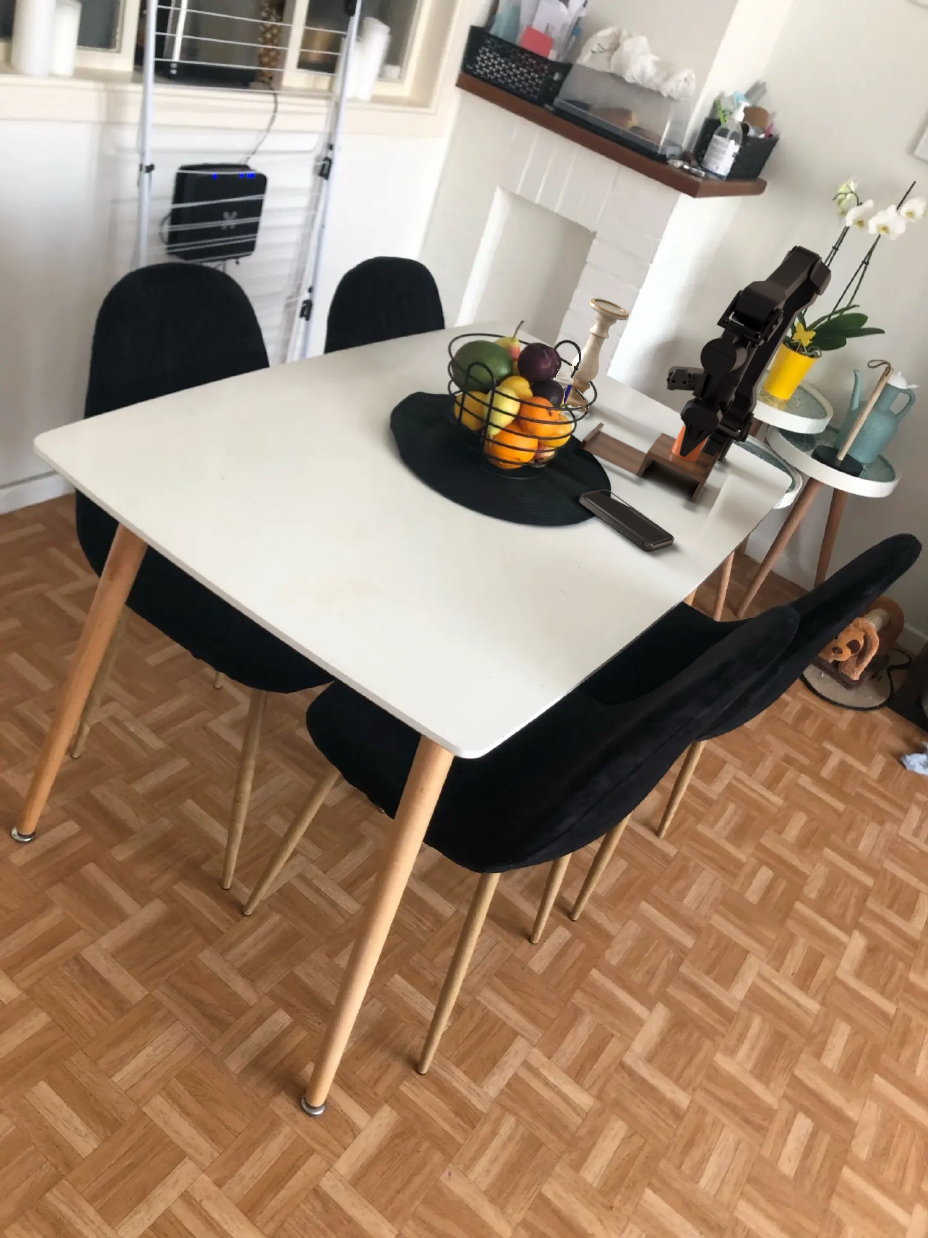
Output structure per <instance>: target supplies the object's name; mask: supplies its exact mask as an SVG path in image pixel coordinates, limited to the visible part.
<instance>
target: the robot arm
mask: <svg viewBox="0 0 928 1238" xmlns="http://www.w3.org/2000/svg"><path fill="white" fill-rule="evenodd" d="M831 281H832V270H831V269H830V268H829V267H828V266H827V264H826V263H824V261H823V257H822V256H821V255H820V254H819V253H817V252H815V251H813V250H810V249H809V248H806V247H804V246H802V245H794V246H793V247H792V248H791V249H790V250H788V251H787V253H786V254H785V255H784V257H783V259H782V261H781V262H780V264H779V265H778V266H777V268H775V269H774V270H773V272H771V273H770V274H769V276H767V278H766V279H764V280H754V281H751V282H750V283H749V284H747V285H746V286H745V287H743V289H740V290H738V291H737V293H736V294H735V295H734V297H733V298H732V300H731V301H730V303H729V304H728V306H727V307H726V309H725V311H724V312H723V313H722V315H721V316H720V318H719V320H718V321H717V322H716V325H717V326H718V327H720V328H722V329H723V332H722V334H721V335H720V336H719V337H716V338H713V339H711V340H709V341H707V343H706V344H705V345H703V347H702V348H701V350H700V356H699V357H700V359H699V360H700V364H701V367H702V368H700V367H693V366H683V365H673V366H671V367H670V368H669V369H668V372H667V378H666V379H665V381H666V390H668V391H673V392H674V391H676V390H677V391H687V392H692V393H691V396H692V397H694V398H691V399H689V400H687V402H686V403H685V404H684V406H683V408H682V410H681V412H680V414H679V416H680V420H681V421H682V422H683V423H684V424H685V432H684V437H683V441H682V445H681V449H680V453H679V454H680V455H681V456H683V457H686V456H687V455H688V454H689V453H690V452H691V451H692V450H694V449H695V448H696V447H697V446H698V445H699V444H700V443H702V442H703V441H704V440H705V439H706V438H707V437H708V439H707V441H706V443H705V445H704V447H703V449H702V452H704V453H706V454H708V455H710V456H712V457H714V456H715V454H716V452H719V453H721V455H720V457H719V458H718V460H717V462H720V463H722V464H725V463H726V461H727V458H726V456H727V455H728V453H729V451H730V449H731V447H732V445H733V444H734V441H735V443H740V442H741V443H746V441H747V439H748V437H749V436H750V433H751V431H752V427H753V425H754V417H755V412H754V411H755V409H756V407H757V405H758V391H757V389H758V387H759V384H760V383H761V381H762V379H763V377H764V375H765V373H766V371H767V370H768V368H769V366H770V364H771V363H772V361H773V359H774V357H775V356H776V354H777V352H778V350H779V348H780V346H781V345H782V344H783V342H784V340H785V337H786V336H787V335H788V333H789V331H790V329H791V328H792V325H793V324H794V322H795V320H796V318H797V317H798V315H799V314H801V312H803V311H805V310H806V309H808V308H809V307H811V306H812V305H814V303H815V302H816V300H817V299H818V297H819V296H820V297H821V296H822V295H823V294H824V293H825V291H826V290H827V288H828V286H829V284H830V283H831ZM730 317H731V318H730Z"/></svg>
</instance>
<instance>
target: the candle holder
mask: <svg viewBox="0 0 928 1238" xmlns="http://www.w3.org/2000/svg"><path fill="white" fill-rule="evenodd" d="M589 306H590V307H591V308H592V309H593V310H594V311H595V312H594V317H595V324H594V325H593V326H591V327H590V328H589V330H588V331H589V332H590V335H589V337H588V339H587V342H586V343H585V346H584V347H583V349H581V351H580V352H581V363H580V364H579V369H578V370H577V371H576V373H575V375H574V377H573V378H572V379H573V380H574V383H573V384H572V389H571V391H570V393H569V396H568V398H567V401H566V402H567V403H568V404H569V405H571V406H572V407H578V406H581V407H582V409H581V410H576V411H577V412H585V413H586V412H589V411H591V406H590V407H589V408H588V410H585V405H586V404H587V403H589V400H588V399H587V398H586V397H585V400H583V399H582V398H581V396H580V395H579V394H577V392H576V391H575V390H574V389H577V390H579V391H580V392H581V393H582V394H583V395H584V394H585V392H587V390H589V389H590V388H591V383H590V382H592V381H593V380H595V379H596V378H597V376H598V375H599V370H600V353H601V349H602V346H603V344H604V342H605V340H606V339H609V338H610V334H609V331H610V328H611V327H612V326H613V325H615V324H616V323H617V321H627V320H629V317H630V313H629V312H628V310H627V309H626V308H624V307H622V306H621V305H619V304H617V303H614V302H612V301H611V300H607V299H604V298H599V297H593V298H591V299H590V301H589ZM578 362H579V353H578V354H577V355H576V356H575V357H574V358H573V359H572V360H571V361H570V365H571V364H572V366H569V371H570V375H569V376H570V377H571V375H572V373H573V371H574V366H576V365H577V363H578ZM589 404H590V403H589Z"/></svg>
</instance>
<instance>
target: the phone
mask: <svg viewBox="0 0 928 1238" xmlns="http://www.w3.org/2000/svg"><path fill="white" fill-rule="evenodd" d="M602 492H608V493H610V494H611V495H613V496H614V497H616V498H617V499H618V500H617V499H615V498H613V497H611V496H608V495H606V494H605V493H602ZM619 500H620V501H619ZM578 502H579V503H580V505H582V506H583V507H585V508H586V509H588V510H589V511H590V512H592V513H593V514H594V515H596V516H597V517H599V518H600V519H601V520H603V521H604V523H605V522H606V523H607V524H608V525H609V526H610V527H612V528H614V529H615V530H616V531H617V532H619V533H620V534H622V535H623V536H625V537H626V538H627V539H628V540H630V541H631V542H632V543H634V544H635V545H636V546H637V547H639V548H640V549H642V550H644V551H647V552H653V551H657V550H661V549H664V548H667V547H671V546H672V545H673V542H674V541H675V536H674V535H673V534H672V533H670V532H668V531H667V530H665V529H664V528H663V527H661V526H660V525H659V524H658V523H656V522H654V521H653V520H652V519H651V518H649V517H647V516H646V515H645V514H643V513H642V512H640V511H639V510H637V509H636V508H635V507H633V506H632V505H631V504H629V503H628V502H627V501H625V500H623V499H622V498H621V497H620V496H618V495H616V494H615V493H614V492H612V491H611V490H609V489H605V488H604V489H597V490H593V491H592V490H591V491H588V492H583V493H581V494H580V496H579V499H578Z"/></svg>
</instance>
